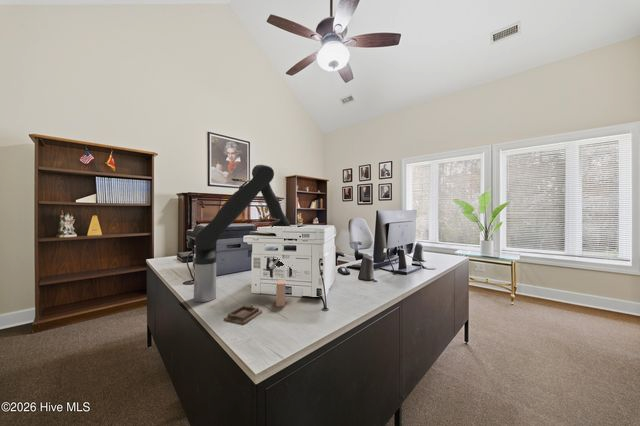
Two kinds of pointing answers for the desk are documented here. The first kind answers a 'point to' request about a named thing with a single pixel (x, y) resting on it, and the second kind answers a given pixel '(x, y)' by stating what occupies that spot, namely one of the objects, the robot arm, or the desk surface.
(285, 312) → the desk surface
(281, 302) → the terracotta block
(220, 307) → the desk surface
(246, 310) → the walnut cradle
